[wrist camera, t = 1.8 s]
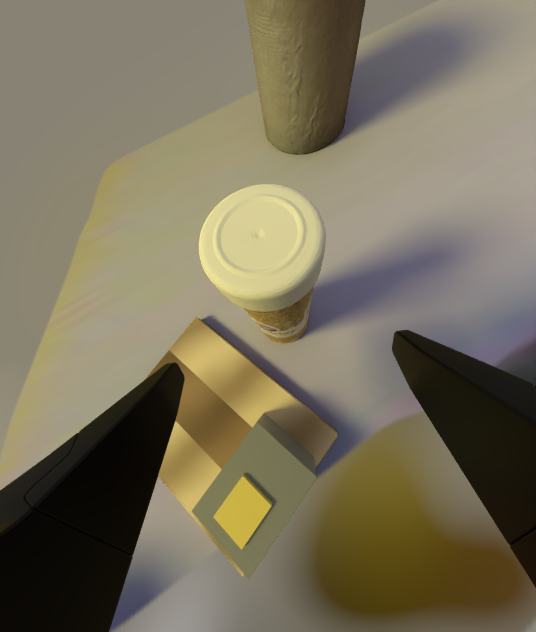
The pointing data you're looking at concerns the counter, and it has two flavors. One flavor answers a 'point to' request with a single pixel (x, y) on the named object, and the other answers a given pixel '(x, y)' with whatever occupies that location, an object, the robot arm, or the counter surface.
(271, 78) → the pillar candle
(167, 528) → the counter surface
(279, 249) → the sprinkles bottle
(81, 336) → the counter surface
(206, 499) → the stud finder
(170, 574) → the counter surface
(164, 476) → the plywood board
